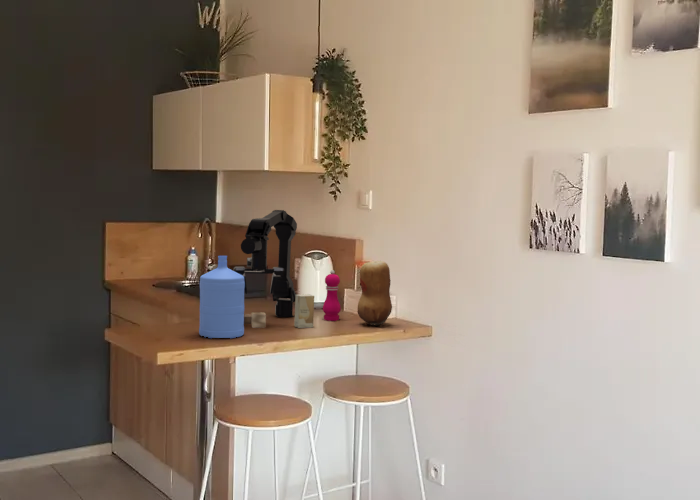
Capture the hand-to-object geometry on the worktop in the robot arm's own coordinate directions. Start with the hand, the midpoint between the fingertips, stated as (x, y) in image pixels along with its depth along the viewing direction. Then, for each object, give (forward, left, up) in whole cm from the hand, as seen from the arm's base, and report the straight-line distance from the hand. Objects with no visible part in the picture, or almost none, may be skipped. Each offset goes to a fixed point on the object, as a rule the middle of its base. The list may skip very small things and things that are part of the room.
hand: (258, 294), depth 295 cm
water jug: (+14, +17, -13) cm, 25 cm away
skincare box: (-17, +2, -13) cm, 21 cm away
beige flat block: (+5, -9, -13) cm, 16 cm away
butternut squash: (-45, -1, -12) cm, 47 cm away
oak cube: (0, 0, -12) cm, 12 cm away
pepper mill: (-30, -14, -12) cm, 35 cm away
